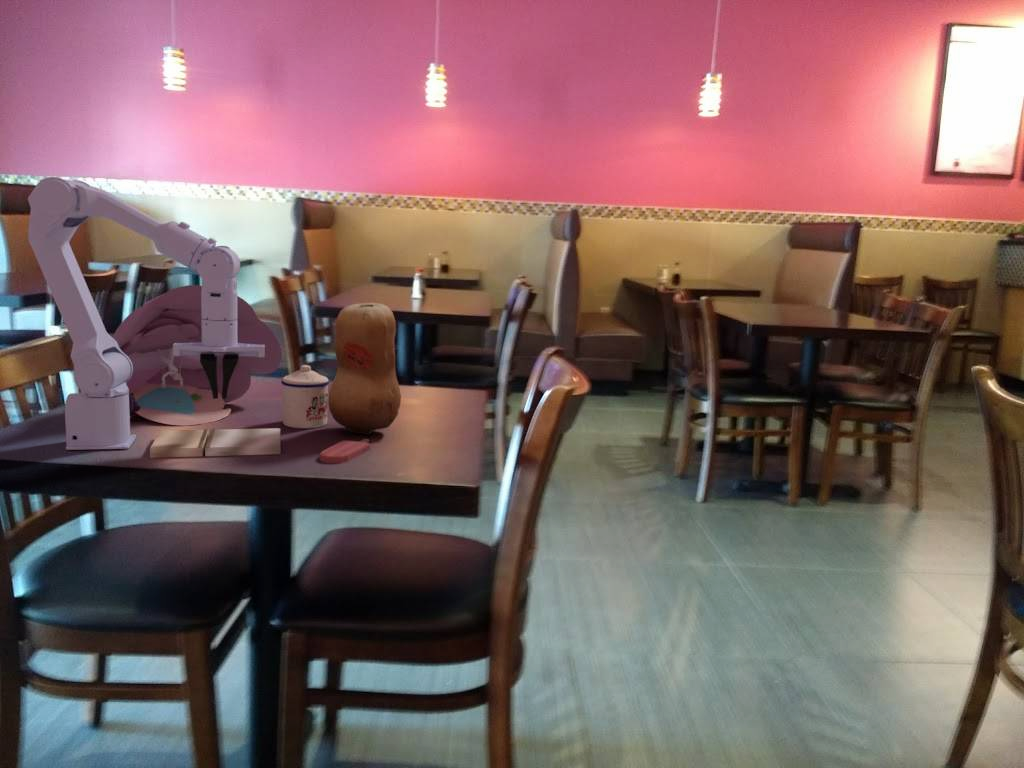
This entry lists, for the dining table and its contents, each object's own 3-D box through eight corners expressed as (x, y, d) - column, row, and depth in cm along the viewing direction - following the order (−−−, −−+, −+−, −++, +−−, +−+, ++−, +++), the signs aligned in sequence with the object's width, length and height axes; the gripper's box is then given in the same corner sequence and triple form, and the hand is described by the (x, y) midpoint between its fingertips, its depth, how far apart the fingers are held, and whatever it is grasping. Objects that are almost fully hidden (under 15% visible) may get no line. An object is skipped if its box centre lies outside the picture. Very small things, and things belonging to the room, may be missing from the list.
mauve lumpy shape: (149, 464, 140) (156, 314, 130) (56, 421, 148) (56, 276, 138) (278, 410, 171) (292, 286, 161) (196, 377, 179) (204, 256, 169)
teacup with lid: (312, 431, 150) (312, 371, 147) (271, 425, 152) (271, 366, 150) (344, 419, 161) (345, 363, 159) (306, 413, 164) (306, 358, 161)
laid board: (150, 457, 127) (149, 448, 127) (160, 438, 139) (160, 429, 138) (202, 456, 130) (202, 447, 129) (208, 437, 141) (208, 429, 141)
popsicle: (380, 437, 144) (342, 458, 129) (380, 445, 144) (342, 467, 130) (354, 434, 145) (313, 454, 131) (354, 442, 145) (313, 463, 131)
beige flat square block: (205, 456, 130) (205, 446, 130) (211, 437, 141) (210, 429, 141) (280, 454, 133) (280, 445, 133) (280, 436, 145) (280, 427, 144)
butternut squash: (316, 437, 145) (318, 303, 141) (342, 421, 158) (344, 298, 154) (388, 444, 144) (392, 308, 139) (408, 427, 157) (412, 303, 152)
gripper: (170, 320, 126) (171, 402, 129) (264, 322, 130) (263, 402, 133) (175, 315, 133) (176, 393, 135) (264, 318, 137) (264, 393, 139)
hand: (220, 397), depth 134 cm, fingers closed
